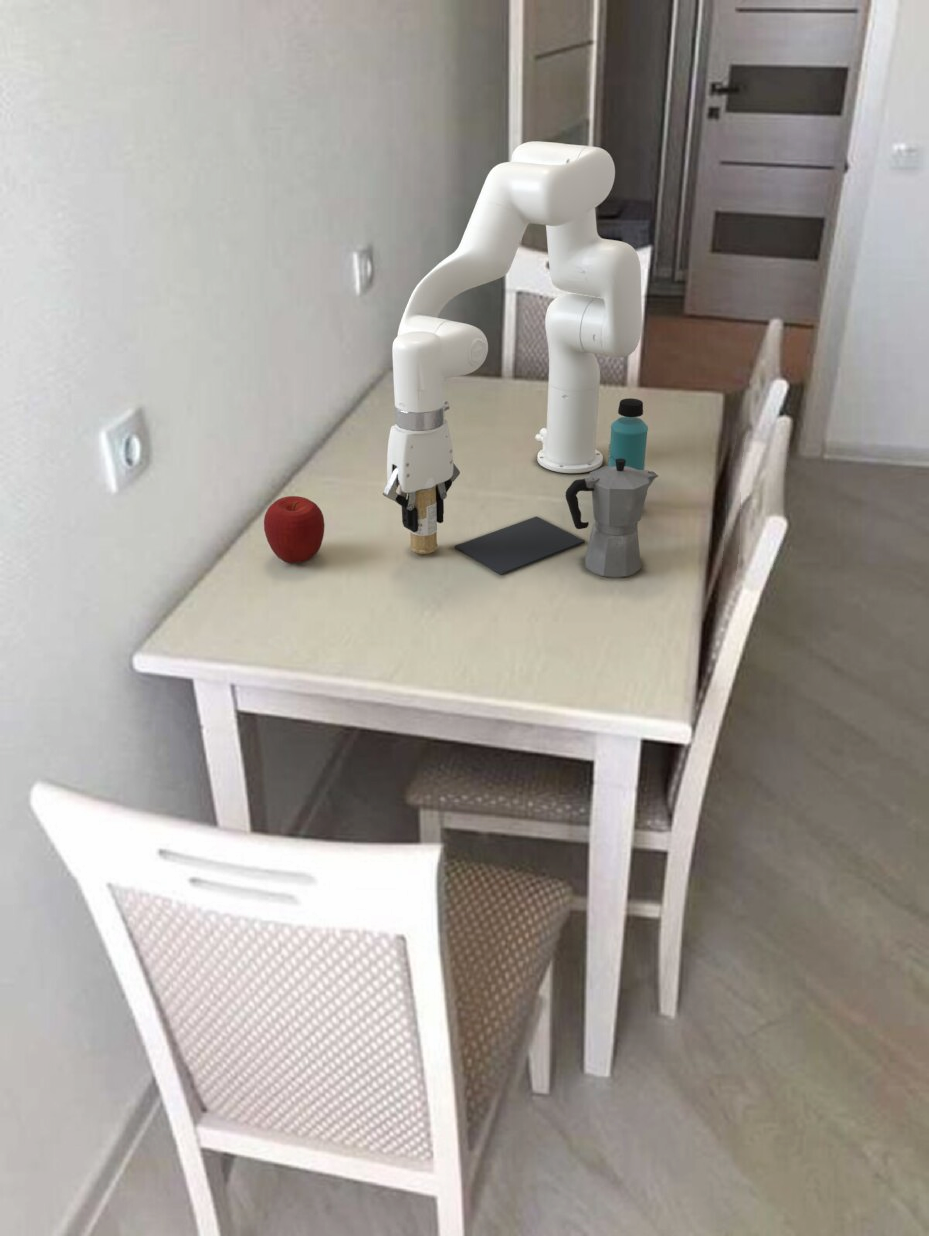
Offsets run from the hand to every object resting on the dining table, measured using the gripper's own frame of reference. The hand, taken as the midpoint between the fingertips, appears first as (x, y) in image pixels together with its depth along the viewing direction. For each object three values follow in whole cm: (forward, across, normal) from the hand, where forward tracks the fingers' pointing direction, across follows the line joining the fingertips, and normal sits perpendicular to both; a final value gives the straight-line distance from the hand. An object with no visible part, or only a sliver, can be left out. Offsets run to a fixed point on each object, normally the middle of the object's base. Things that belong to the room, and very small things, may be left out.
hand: (423, 523), depth 170 cm
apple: (+5, +17, -11) cm, 21 cm away
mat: (+5, -14, +8) cm, 17 cm away
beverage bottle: (+6, -37, +9) cm, 38 cm away
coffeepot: (+5, -20, +22) cm, 30 cm away
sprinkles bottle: (+5, 0, 0) cm, 5 cm away
